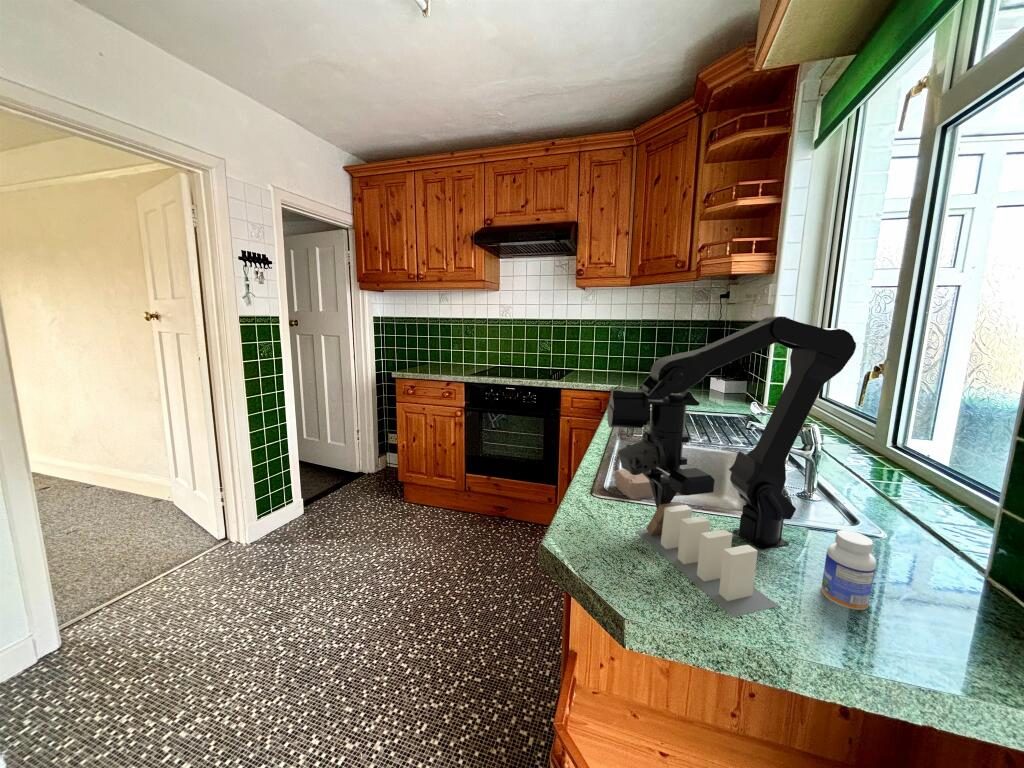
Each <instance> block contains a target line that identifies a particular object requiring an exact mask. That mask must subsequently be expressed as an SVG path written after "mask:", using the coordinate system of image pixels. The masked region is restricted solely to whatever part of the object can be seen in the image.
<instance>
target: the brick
mask: <svg viewBox="0 0 1024 768" xmlns="http://www.w3.org/2000/svg"><path fill="white" fill-rule="evenodd" d="M614 484H615V487H616V488H617V490H618V491H620V492H621V493H622V494H623V496H625V495H626V497H627V498H628V499H630V500H641V499H654V496H653V492H652V488H651V485H650V482H649V480H648V479H647V478H646V477H645V476H644V475H643V474H642V473H641V474H639V475H632V474H631V473H630V472H629V471H627V470H626V469H617V470H616V471H615V475H614ZM679 496H685V495H681V494H680V493H678V492H677V494H676V495H675V496H674V497H679Z"/></svg>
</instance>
